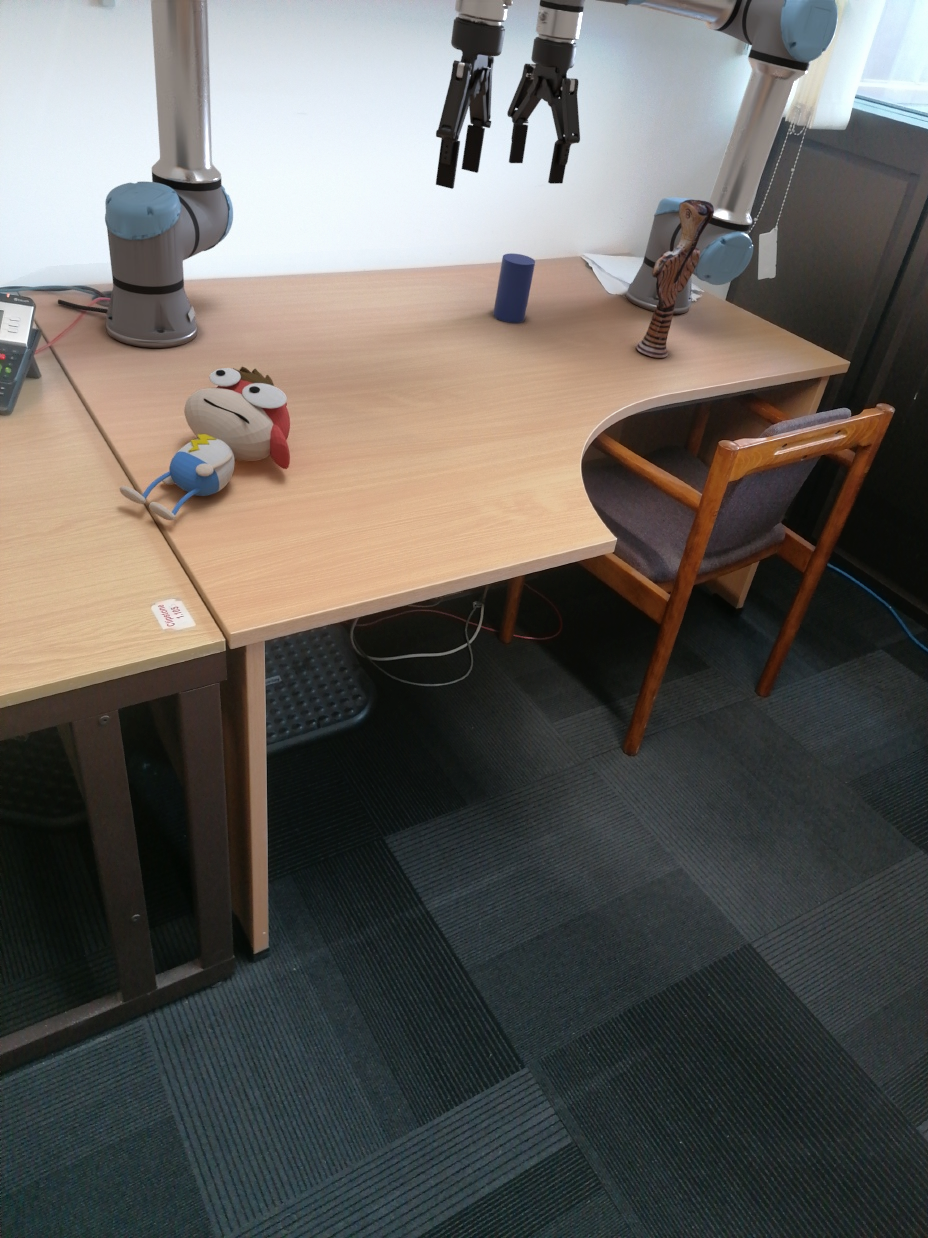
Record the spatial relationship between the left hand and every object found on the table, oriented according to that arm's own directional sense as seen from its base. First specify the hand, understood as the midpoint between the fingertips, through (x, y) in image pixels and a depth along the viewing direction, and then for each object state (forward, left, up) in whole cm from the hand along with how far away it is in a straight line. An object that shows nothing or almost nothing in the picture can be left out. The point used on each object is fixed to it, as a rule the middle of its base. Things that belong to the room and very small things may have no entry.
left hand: (457, 178), depth 141 cm
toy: (-16, -50, -33) cm, 62 cm away
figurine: (+36, +38, -33) cm, 62 cm away
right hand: (+6, +31, -3) cm, 31 cm away
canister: (+5, +37, -33) cm, 50 cm away
